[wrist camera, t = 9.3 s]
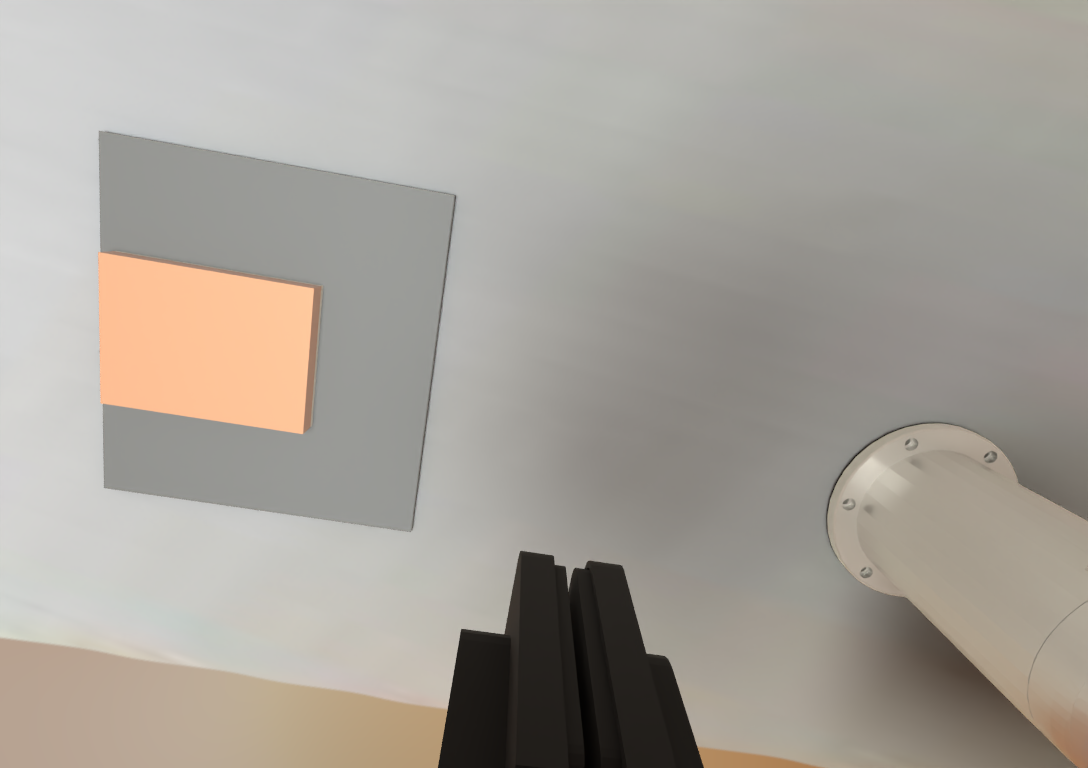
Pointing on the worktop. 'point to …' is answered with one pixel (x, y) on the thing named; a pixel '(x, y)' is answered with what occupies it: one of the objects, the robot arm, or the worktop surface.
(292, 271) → the slate mat
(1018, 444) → the worktop surface
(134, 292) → the tile
